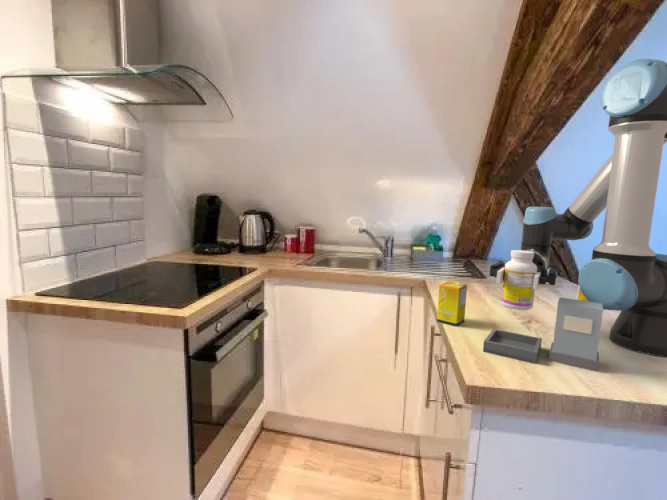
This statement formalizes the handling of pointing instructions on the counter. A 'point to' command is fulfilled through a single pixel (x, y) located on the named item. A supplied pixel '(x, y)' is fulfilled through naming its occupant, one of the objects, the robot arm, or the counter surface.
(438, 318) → the supplement box
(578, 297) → the supplement bottle
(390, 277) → the counter surface
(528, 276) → the supplement bottle
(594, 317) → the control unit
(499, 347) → the tray
